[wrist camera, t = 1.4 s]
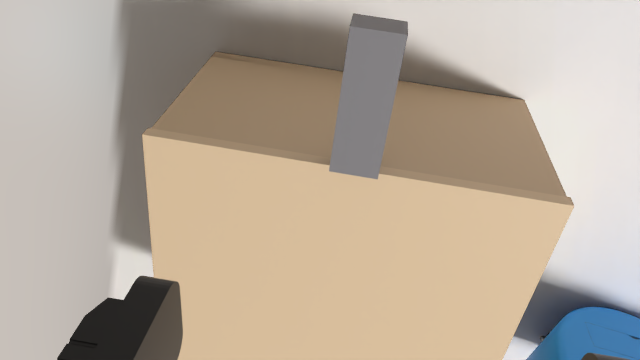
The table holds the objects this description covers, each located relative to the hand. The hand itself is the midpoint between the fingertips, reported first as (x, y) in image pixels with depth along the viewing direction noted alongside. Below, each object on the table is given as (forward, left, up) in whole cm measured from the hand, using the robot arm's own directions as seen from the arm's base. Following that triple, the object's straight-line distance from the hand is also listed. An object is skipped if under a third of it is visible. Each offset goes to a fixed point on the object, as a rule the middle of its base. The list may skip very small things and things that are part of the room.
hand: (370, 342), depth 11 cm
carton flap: (+9, -1, -13) cm, 16 cm away
